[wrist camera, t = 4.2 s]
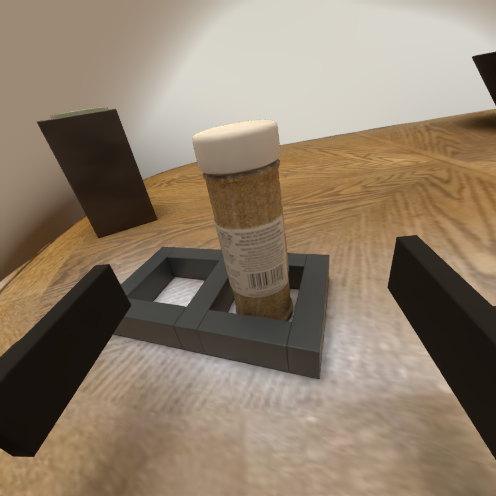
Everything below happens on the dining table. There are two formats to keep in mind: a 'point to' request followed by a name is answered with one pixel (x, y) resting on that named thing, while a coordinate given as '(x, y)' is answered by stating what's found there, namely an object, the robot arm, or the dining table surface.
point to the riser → (100, 169)
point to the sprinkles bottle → (248, 213)
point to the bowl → (487, 71)
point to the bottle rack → (228, 324)
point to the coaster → (78, 112)
